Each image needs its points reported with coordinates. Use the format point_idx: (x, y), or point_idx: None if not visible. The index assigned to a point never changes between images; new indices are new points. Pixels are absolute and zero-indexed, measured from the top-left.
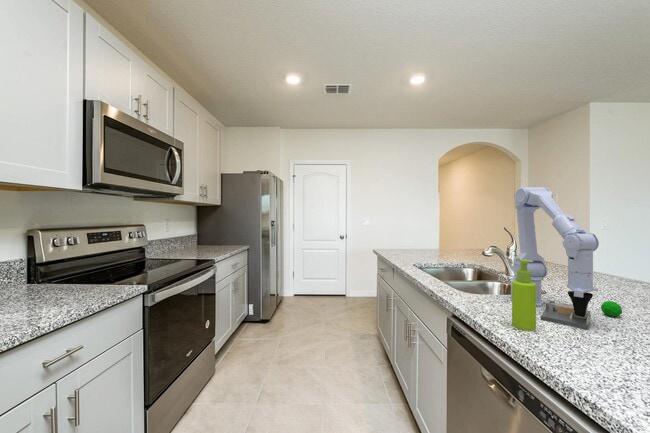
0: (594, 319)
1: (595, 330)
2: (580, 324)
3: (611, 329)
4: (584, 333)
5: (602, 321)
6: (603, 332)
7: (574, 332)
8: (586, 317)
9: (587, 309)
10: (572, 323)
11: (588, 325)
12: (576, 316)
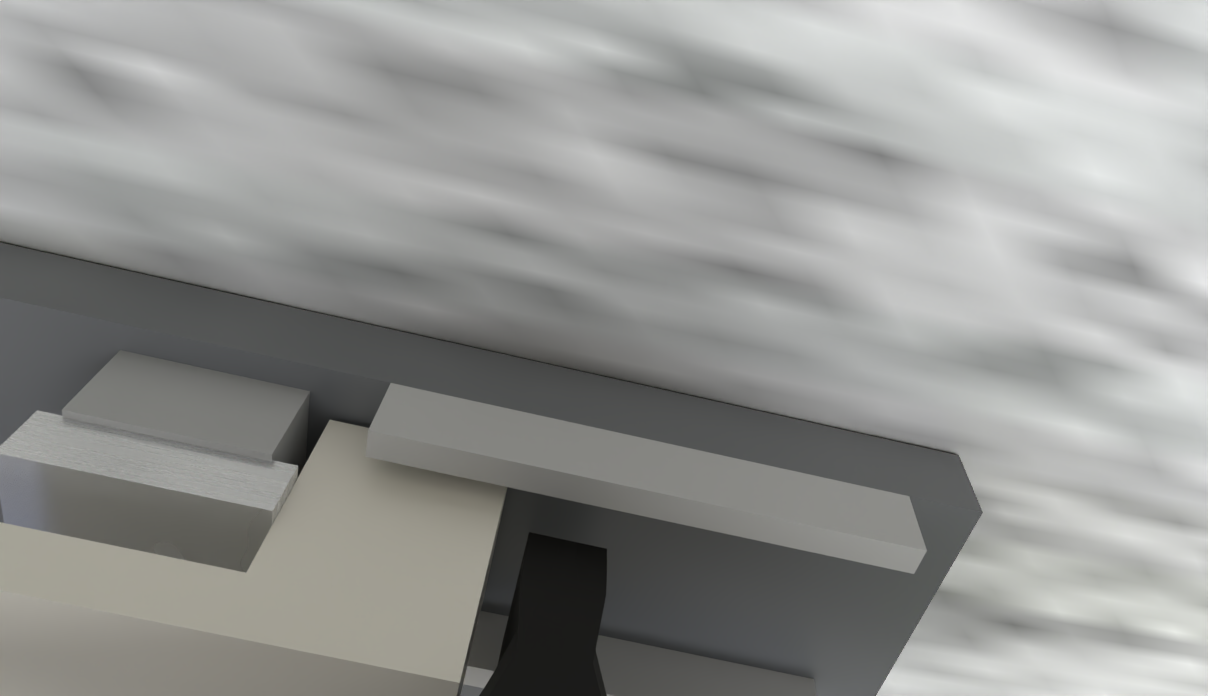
0: (38, 174)
1: (934, 350)
2: (933, 595)
3: (681, 21)
4: (1204, 546)
5: (72, 42)
6: (1011, 247)
7: (1198, 652)
8: (325, 410)
9: (22, 449)
10: (879, 664)
11: (848, 463)
12: (484, 591)
